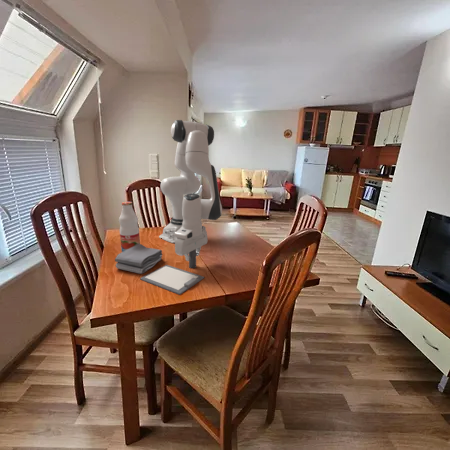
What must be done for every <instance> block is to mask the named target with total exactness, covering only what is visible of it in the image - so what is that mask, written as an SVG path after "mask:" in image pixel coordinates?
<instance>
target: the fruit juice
mask: <svg viewBox="0 0 450 450" xmlns="http://www.w3.org/2000/svg"><path fill="white" fill-rule="evenodd" d="M121 207H122V209H121V213H120V216H119V217H118V222H119V225H120V226H119V238H120V249H121V253H122V252H124V251H126V250H127V249H129V248H131V247H133V246H135V245H136V244H138V243H139V244H141V237H140V228H139V225H138V222H139V218H138V215H137V214H136V212H135V210H134V208H133V202H132V201H122V202H121Z"/></svg>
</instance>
